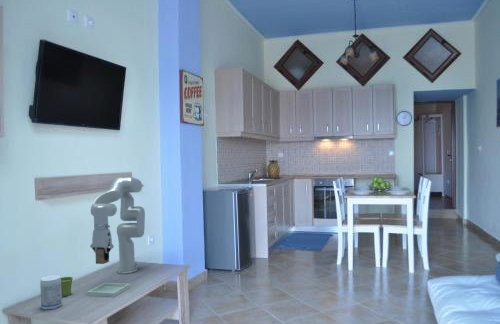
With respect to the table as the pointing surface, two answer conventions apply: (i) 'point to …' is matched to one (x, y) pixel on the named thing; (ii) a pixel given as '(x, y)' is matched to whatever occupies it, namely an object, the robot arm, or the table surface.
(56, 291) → the supplement tub
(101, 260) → the walnut block
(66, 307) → the table surface
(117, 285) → the sage tray
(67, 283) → the plant pot
